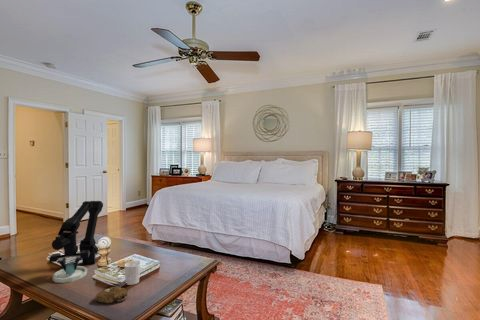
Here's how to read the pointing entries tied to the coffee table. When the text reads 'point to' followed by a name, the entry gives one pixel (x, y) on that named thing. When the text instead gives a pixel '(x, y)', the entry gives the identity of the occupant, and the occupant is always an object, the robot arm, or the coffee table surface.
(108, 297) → the decorative rock
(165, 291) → the coffee table surface
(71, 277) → the ceramic dish
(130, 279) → the white cup
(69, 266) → the bead
